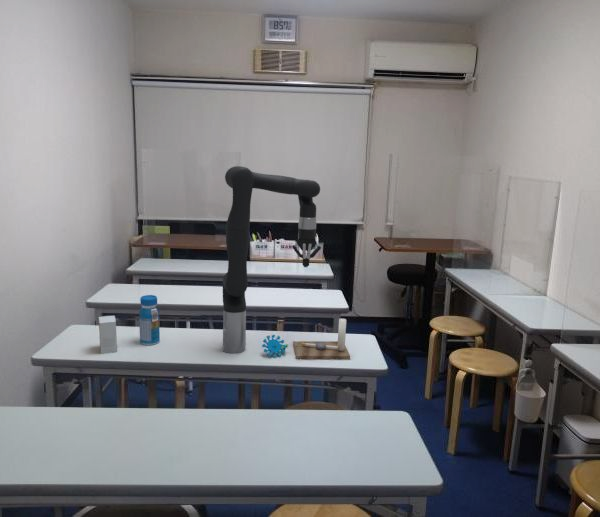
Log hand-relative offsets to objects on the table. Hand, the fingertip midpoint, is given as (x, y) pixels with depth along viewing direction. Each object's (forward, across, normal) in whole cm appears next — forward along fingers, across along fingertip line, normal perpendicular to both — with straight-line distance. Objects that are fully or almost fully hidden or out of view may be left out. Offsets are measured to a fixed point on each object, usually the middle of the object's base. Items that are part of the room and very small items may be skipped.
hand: (305, 266), depth 221 cm
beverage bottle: (+33, -66, -4) cm, 74 cm away
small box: (+33, -81, -12) cm, 88 cm away
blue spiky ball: (+33, -13, -18) cm, 40 cm away
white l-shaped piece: (+31, +7, -15) cm, 35 cm away
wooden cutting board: (+33, +6, -15) cm, 37 cm away
